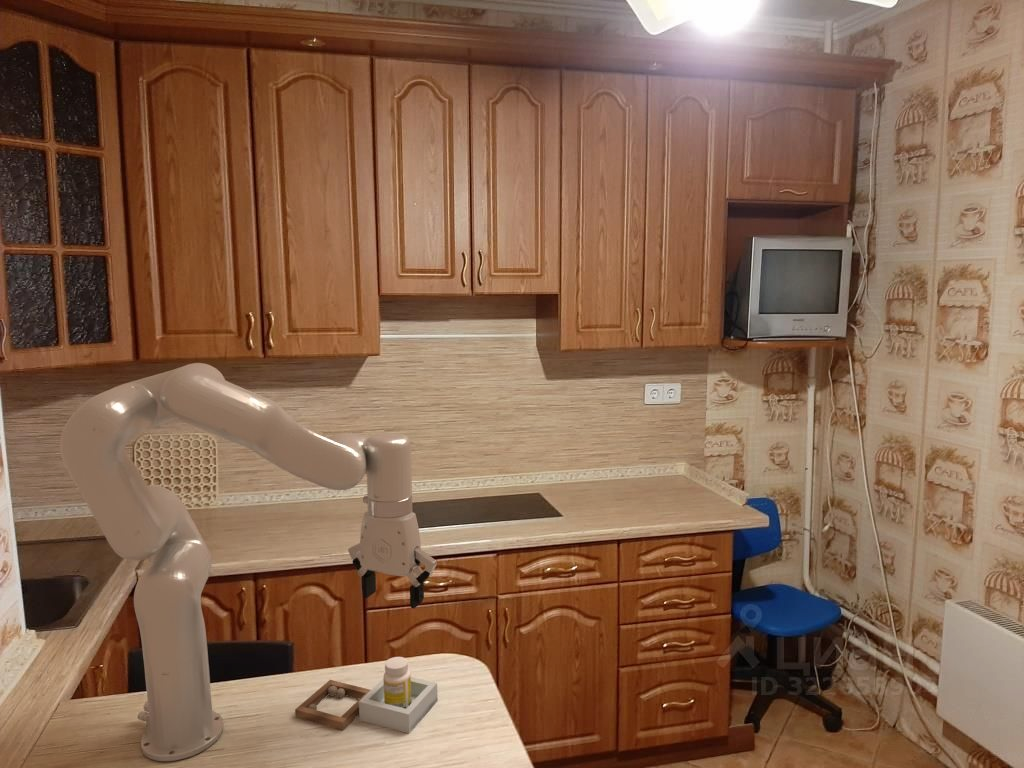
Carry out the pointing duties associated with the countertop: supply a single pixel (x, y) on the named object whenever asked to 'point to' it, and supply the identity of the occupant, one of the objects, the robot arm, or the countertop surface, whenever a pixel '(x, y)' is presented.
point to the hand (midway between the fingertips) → (392, 600)
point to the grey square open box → (397, 717)
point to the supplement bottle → (397, 682)
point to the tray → (311, 714)
